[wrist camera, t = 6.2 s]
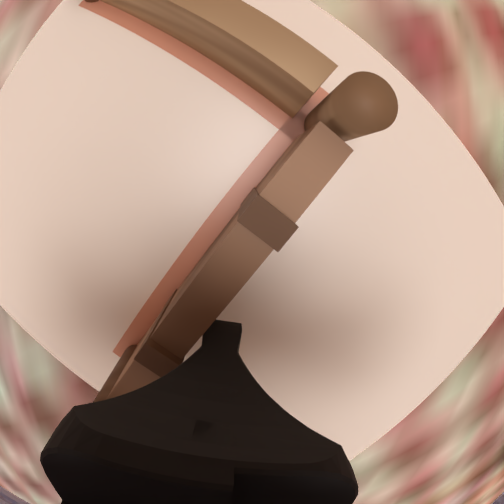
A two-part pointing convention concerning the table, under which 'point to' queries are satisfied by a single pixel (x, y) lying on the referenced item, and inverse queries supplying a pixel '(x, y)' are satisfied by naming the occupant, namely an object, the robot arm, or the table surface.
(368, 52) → the card
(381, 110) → the fence fixed
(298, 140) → the fence panel
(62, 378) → the table surface
